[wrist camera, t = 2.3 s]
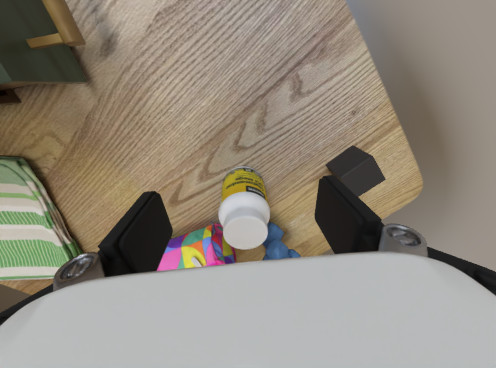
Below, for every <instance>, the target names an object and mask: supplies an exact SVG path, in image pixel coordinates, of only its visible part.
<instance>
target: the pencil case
mask: <svg viewBox="0 0 496 368" xmlns="http://www.w3.org/2000/svg"><path fill="white" fill-rule="evenodd" d="M211 224H212V225H210V226H207V227H205V228H203V229H200V230H196V231H192V232H190V233H187V234H184V235H182V236H179V237H176V238H173V239H170V241H169V243H168V245H167V248H166V250H165V252H164V255H163V257H162V259H161V262H160V264H159V267H158V269H157V271H163V270H173V269H182V268H192V267H202V266H212V265H222V264H232V263H236V254H235V250H234V247H232V246H230V245H229V244H228V243H227V242H226V241H225V239H224V236H223V226H222V225H220V224H218V223H214V224H213V222H211Z"/></svg>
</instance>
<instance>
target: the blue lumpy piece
mask: <svg viewBox="0 0 496 368" xmlns="http://www.w3.org/2000/svg"><path fill="white" fill-rule="evenodd" d="M267 228H268V235H267V238H266V240H265V241H264V242H263V243H262V244H263V245H264V247H265V248H266V249H267V250H266V252H265V253H266V255H265V256H264V258H263V260H262V261H264V260H274V259H285V258H296V257H301V256H300V255H299V254H298V253H297V252H296V251H295V250H293V249H288V247H287V246H286V245H285V244H284V243H283V242H281V238H282V236H283V234H284V232H283V231H282V230H281V229H280V228H279V226H277V225H276V224H274V223H272V222H269V223H268V224H267Z"/></svg>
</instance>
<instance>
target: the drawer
mask: <svg viewBox="0 0 496 368" xmlns="http://www.w3.org/2000/svg"><path fill="white" fill-rule="evenodd" d="M84 44H85V41H84V39H83V37H82V35H81V33H80V31H79V29H78V26H77V24H76V22H75V20H74V18H73V16H72V14H71V12H70V10H69V8H68V6H67V4H66V2H65V0H0V90H5V89H10V88H16V87H21V86H26V85H31V84H80V83H85V82H87V80H86V78H85V76H84V74H83V72H82V70H81V68H80V66H79V64H78V62H77V60H76V58H75V57H74V55H73V53H72V51H71V49H70V47H69V46H81V45H84Z"/></svg>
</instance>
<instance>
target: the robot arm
mask: <svg viewBox="0 0 496 368" xmlns="http://www.w3.org/2000/svg"><path fill="white" fill-rule="evenodd" d="M315 220H316V222H317V224H318V226H319V227H320V229H321V231H322V233H323V234H324V236H325V238H326V240H327V241H328V243H329V245H330V246H331V248H332V250H333V252H334V253H335V254H330V255H318V256H307V257H296V258H285V259H274V260H264V261H253V262H243V263H232V264H222V265H212V266H202V267H192V268H182V269H173V270H163V271H157V269H158V267H159V264H160V262H161V259H162V257H163V255H164V252H165V250H166V248H167V245H168V243H169V241H170V238H171V236H172V232H173V230H172V226H171V223H170V221H169V218H168V215H167V212H166V210H165V207H164V204H163V201H162V198H161V196H160V194H159V193H156V192H155V191H151V192H144V193H143V194H142V195H141V196H140V197H139V198H138V199H137V201H136V202H135V203H134V204H133V205H132V207H131V208H130V209H129V210H128V211H127V212H126V214H125V215H124V216H123V217H122V218H121V219H120V221H119V222H118V223H117V224H116V225H115V227H114V228H113V229H112V230H111V231H110V232H109V234H108V235H107V236H106V237H105V238H104V239H103V241H102V242H101V243H100V244H99V245H98V247H99V248H100V250H99V251H98V253H95V252H87V253H83V254H80V255H78V256H76V257H74V258H72V259H70V260H69V261H67V262H66V263H65V264H63V265H62V266H61V267H60V268H59V269H58V270H57V272H56V273H55V275H54V279H53V284H51V285H50V286H48V287H46V288H44V289H42V290H41V291H39V292H37V293H35V294H33V295H32V296H30V297H28V298H26V299H25V300H23V301H21V302H19V303H17V304H16V305H14V306H12V307H10V308H9V309H7V310H5V311H3V312H1V313H0V368H496V272H495V271H492V270H490V269H487V268H485V267H482V266H480V265H477V264H474V263H471V262H468V261H466V260H463V259H460V258H457V257H455V256H452V255H449V254H446V253H443V252H441V251H438V250H435V249H433V248H430V247H427V243H426V241H425V238H424V237H423V236H422V235H421V234H420V233H419V232H417V231H415V230H414V229H412V228H410V227H407V226H404V225H400V224H387V225H384V224H383V223H382V222H381V220H382V219H381V218H380V217H379V216H377V215H376V214H375V213H374V212H373V211H372V210H371V209H370V208H369V207H368V206H367V205H366V204H365V203H364V202H362V201H361V200H360V199H359V198H358V197H357V196H356V195H355V194H354V193H353V192H352V191H351V190H350V189H349V188H347V187H346V186H345V185H344V184H343V183H342V182H341V181H340V180H339V179H338V178H337V177H336V176H334V175H329V176H323V178H322V179H320V180H319V186H318V194H317V201H316V209H315Z"/></svg>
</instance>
